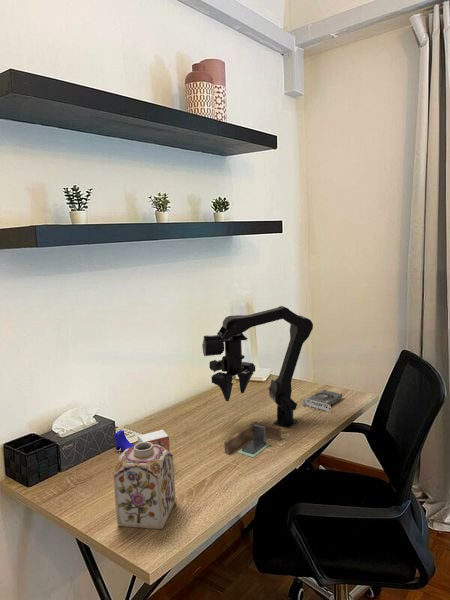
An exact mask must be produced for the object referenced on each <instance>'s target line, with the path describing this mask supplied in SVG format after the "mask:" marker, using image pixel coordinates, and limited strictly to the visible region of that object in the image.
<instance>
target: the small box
mask: <svg viewBox="0 0 450 600" xmlns="http://www.w3.org/2000/svg"><path fill="white" fill-rule="evenodd" d="M141 442H150V443H152V444H156V445H160V446H162V447H164V448H165V449H167V450H168V451H169V452H170V436H169V435H168V434H167V433H166V432H165V431H164V429H160V430H156V431H153V432H152V431H151V432H148V433H143V434H138V435H137V444H138V443H141ZM170 453H171V452H170Z"/></svg>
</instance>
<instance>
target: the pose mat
mask: <svg viewBox="0 0 450 600" xmlns="http://www.w3.org/2000/svg"><path fill="white" fill-rule="evenodd" d="M270 446H271V445H270V443H267V442H266V445H264V446H263V447H262V448H260V449H259V450H258V451H256V452H255V453H254V454H250V453H246V452H243V451H242V448H241V449H239V450H238V451H236V454H238V455H239V454H240V455H243V456H246V457H248V458H249V457H250V458H252V459H254V458H255V457H256V456H258V455H260V453H261V452H263V451H264V450H265V449H267V448H268V447H270Z"/></svg>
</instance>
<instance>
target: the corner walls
mask: <svg viewBox="0 0 450 600" xmlns="http://www.w3.org/2000/svg"><path fill="white" fill-rule="evenodd" d="M254 424H257V425H261V426H265V427H266V438H267V439H268V438H269V439H273V440H276V441H281V440H282V431H281V429H282V428H281V427H279V426H275V425H271V424H267V423H262V422H258V421H254V422H252V423H250V424H249V425H247V426H245V427H243V428H242V429H241V430H239V431H238V432H236V433H235V434H233V435H232V436H230V437H229V438H227V439H225V440H224V454H226V455H229V454H230V453H232V452H233V451H235V450H237V448H239V447H241V446H242V445H244V444H245V443H246V442H248V441H250V440H251V439H253V425H254Z"/></svg>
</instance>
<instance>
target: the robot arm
mask: <svg viewBox="0 0 450 600" xmlns="http://www.w3.org/2000/svg"><path fill="white" fill-rule="evenodd" d="M280 320H284V321H286V322H287V323H289V324H290V326H289V338H290V339H289V343H288V346H287V349H286V352H285V355H284V359H283V362H282V366H281V367H280V372H279V373H278V374H279V375H278V377H277V378H276V379H271V381H270V384H269V388H268V389H267V390H268V391H269V392H268V393H269V395H268V396H269V397H270V399H271V400H272V401H274V403H275V404H276V405H277V406H276V420H275V421H274V422H273V424H274V425H277V426H281V427H285V428H291V427H292V426H294V425H295V424H296V423H297V422H298V419H295V418H294V411H295V410H297V407H298V403H297V402H296V401H294V400H293V399H292V398H291V397H292V391H293V390H292V380H293V376H294V374H295V371H296V367H297V364H298V360H299V358H300V353H301V351H302V347H303V345H304V343H305V342H306V341H307V340H308V339H309V337H310V335H311V334H312V331H313V329H314V323H313V321H312V320H311V319H309V318H307V317H305V316H303V315H299V314H296V313H295V312H293V311H292V310H290V309H289V308H288V307H286V306H283V305H282V306H281V305H279V306H278V307H275V308H271V309H267V310H263V311H259V312H256V313H252V314H251V313H250V314H247V315H244V314H243V315H241V314H238V315H228V316H226V317H225V318H224V319H223V321H222V326H221V327H220V329H219V331H217V334H215V335H204V336H203V341H202V345H201V346H202V353H203V356H204V357H210V356H211V357H212V356H221V355H222V354H223V353H224V356H222V358H221V359H219V360H216V359H214V360H210V361H209V370H211V371H213V373H214V374H213V375H211V383H212V384H214V385H216V386H218V387H219V388H220V390H221V392H222V395H223V397H224V400H225V401H226V402H229V401H230V398H231V394H232V390H233V389H232V388H233V385H234V383H233V377H235V376H237V377H238V382H239V389H240V393H241V394H244V393H245V391H246V388H247V386H248V385H249V383H250V380H251V379H252V376H253V375H254V372H256V365H255V364H254V363H253V362H246V361H243V360H244V359H245V355H243V350H242V349H243V348H242V347H243V346H242V341H247V340H248V337H247V336H245V335H244V332H246V331H248V330H249V329H251V328H253V327H257V326H260V325H264V324H267V323H273V322H277V321H280ZM217 371H218V372H217ZM220 371H221V372H220ZM216 372H217V373H216Z"/></svg>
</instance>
